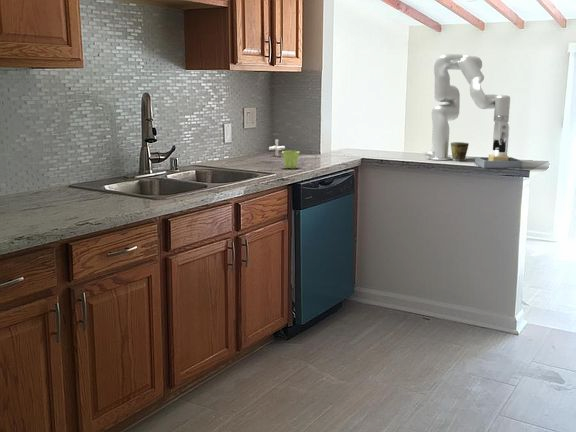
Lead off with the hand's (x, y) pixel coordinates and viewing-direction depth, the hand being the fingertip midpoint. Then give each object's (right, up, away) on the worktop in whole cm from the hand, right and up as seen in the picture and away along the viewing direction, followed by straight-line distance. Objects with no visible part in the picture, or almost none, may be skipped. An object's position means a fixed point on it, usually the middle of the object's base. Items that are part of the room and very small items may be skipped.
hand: (498, 151), depth 334 cm
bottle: (+7, -4, +19) cm, 21 cm away
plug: (0, -7, +2) cm, 7 cm away
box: (0, -8, +2) cm, 8 cm away
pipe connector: (-120, +1, +46) cm, 129 cm away
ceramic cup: (-15, -3, +25) cm, 30 cm away
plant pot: (-112, -9, -2) cm, 112 cm away
